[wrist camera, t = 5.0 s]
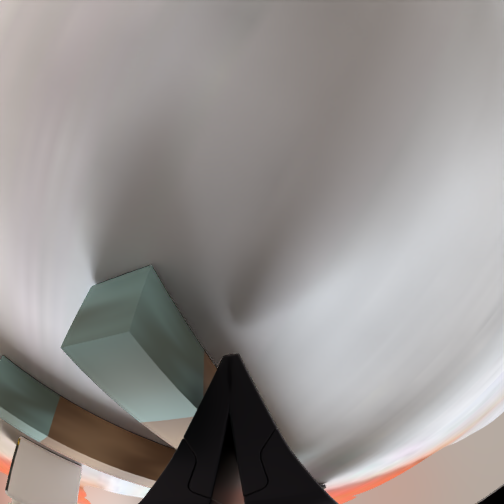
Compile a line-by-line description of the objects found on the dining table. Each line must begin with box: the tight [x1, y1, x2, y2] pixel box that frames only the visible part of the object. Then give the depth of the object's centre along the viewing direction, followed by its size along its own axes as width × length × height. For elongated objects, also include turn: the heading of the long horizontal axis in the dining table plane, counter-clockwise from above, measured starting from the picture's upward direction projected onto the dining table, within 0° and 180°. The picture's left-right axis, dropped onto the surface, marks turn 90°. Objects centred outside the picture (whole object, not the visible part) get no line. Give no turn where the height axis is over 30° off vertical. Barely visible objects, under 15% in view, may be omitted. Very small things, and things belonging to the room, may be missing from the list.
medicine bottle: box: [5, 437, 82, 504], centre depth 13 cm, size 7×7×12 cm
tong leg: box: [61, 265, 217, 449], centre depth 11 cm, size 16×2×3 cm, turn 18°
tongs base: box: [0, 356, 176, 488], centre depth 13 cm, size 22×6×4 cm, turn 42°
